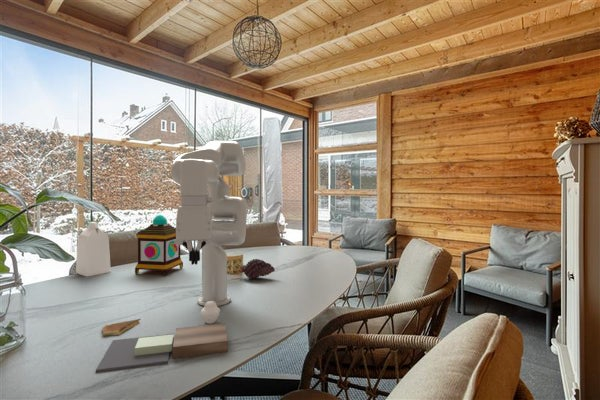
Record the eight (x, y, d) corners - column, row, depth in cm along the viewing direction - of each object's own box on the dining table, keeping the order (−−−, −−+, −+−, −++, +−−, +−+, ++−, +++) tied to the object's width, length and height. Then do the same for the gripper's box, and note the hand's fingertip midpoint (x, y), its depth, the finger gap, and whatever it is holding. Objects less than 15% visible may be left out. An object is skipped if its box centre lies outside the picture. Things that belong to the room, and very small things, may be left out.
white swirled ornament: (220, 324, 107) (220, 303, 107) (200, 326, 105) (200, 304, 105) (219, 317, 113) (219, 297, 113) (200, 319, 111) (200, 298, 111)
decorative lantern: (153, 266, 185) (153, 213, 184) (186, 267, 183) (186, 213, 182) (130, 275, 166) (130, 215, 165) (167, 277, 163) (167, 216, 162)
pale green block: (134, 355, 85) (134, 348, 85) (139, 345, 91) (139, 338, 91) (171, 351, 88) (171, 343, 88) (173, 341, 94) (173, 334, 93)
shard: (140, 323, 109) (140, 317, 108) (144, 331, 102) (143, 325, 102) (102, 330, 103) (102, 324, 103) (103, 340, 96) (103, 333, 96)
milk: (75, 272, 169) (75, 222, 168) (99, 268, 179) (99, 220, 178) (86, 276, 162) (86, 224, 161) (110, 271, 172) (110, 222, 171)
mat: (113, 342, 94) (113, 340, 94) (173, 335, 98) (173, 333, 98) (95, 372, 78) (95, 369, 78) (167, 362, 83) (167, 360, 83)
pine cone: (275, 276, 166) (275, 257, 166) (273, 282, 156) (273, 261, 156) (240, 275, 167) (241, 256, 167) (236, 281, 157) (236, 260, 157)
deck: (176, 338, 97) (176, 328, 97) (224, 332, 101) (224, 323, 101) (172, 358, 85) (172, 347, 85) (227, 351, 89) (227, 340, 89)
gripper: (220, 200, 102) (220, 259, 103) (168, 200, 98) (169, 261, 99) (220, 202, 94) (220, 265, 96) (164, 202, 91) (165, 268, 92)
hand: (194, 263), depth 97 cm, fingers closed
